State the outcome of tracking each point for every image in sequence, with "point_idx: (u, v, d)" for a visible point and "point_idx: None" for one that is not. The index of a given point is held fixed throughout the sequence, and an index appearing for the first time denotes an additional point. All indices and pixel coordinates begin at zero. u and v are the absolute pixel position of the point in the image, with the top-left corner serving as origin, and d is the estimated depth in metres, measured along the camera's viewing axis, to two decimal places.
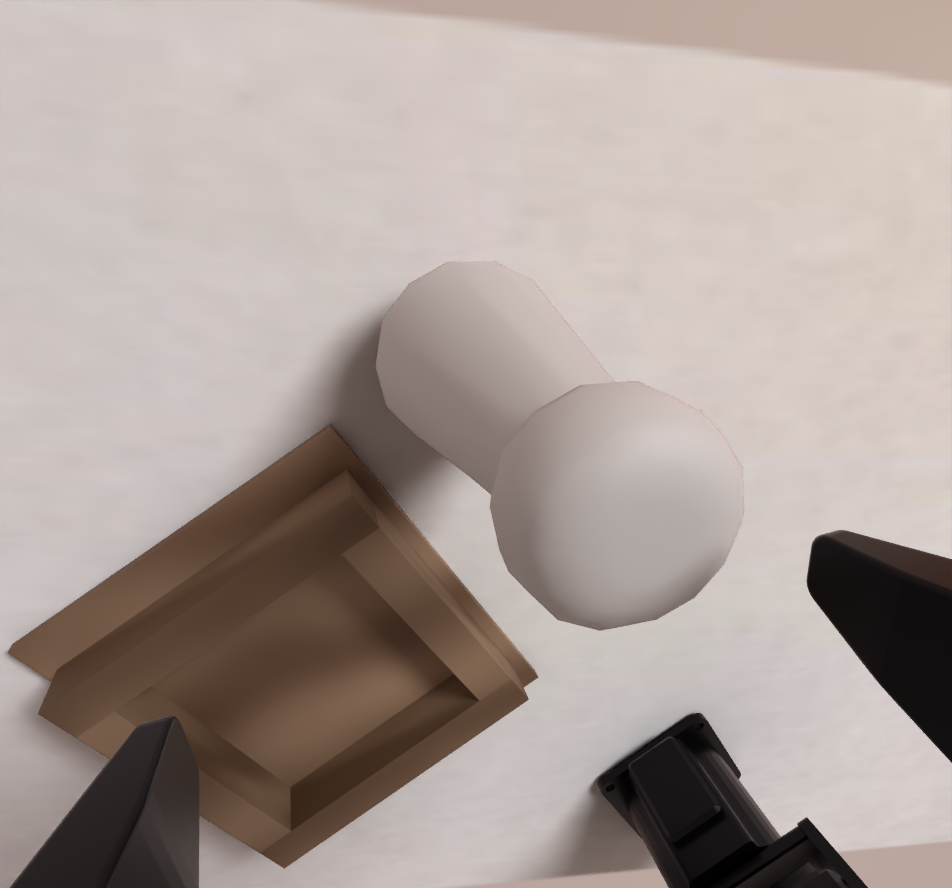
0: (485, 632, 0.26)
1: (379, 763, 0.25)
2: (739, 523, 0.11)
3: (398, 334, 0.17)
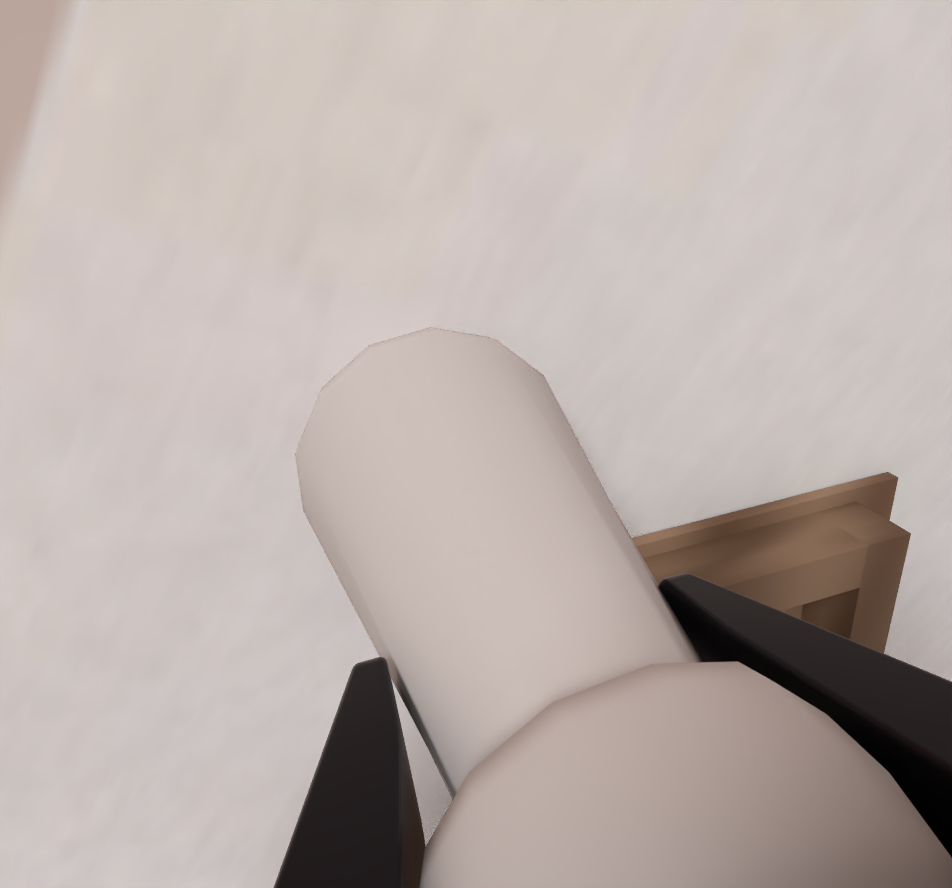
0: (792, 519, 0.20)
1: None
2: None
3: None
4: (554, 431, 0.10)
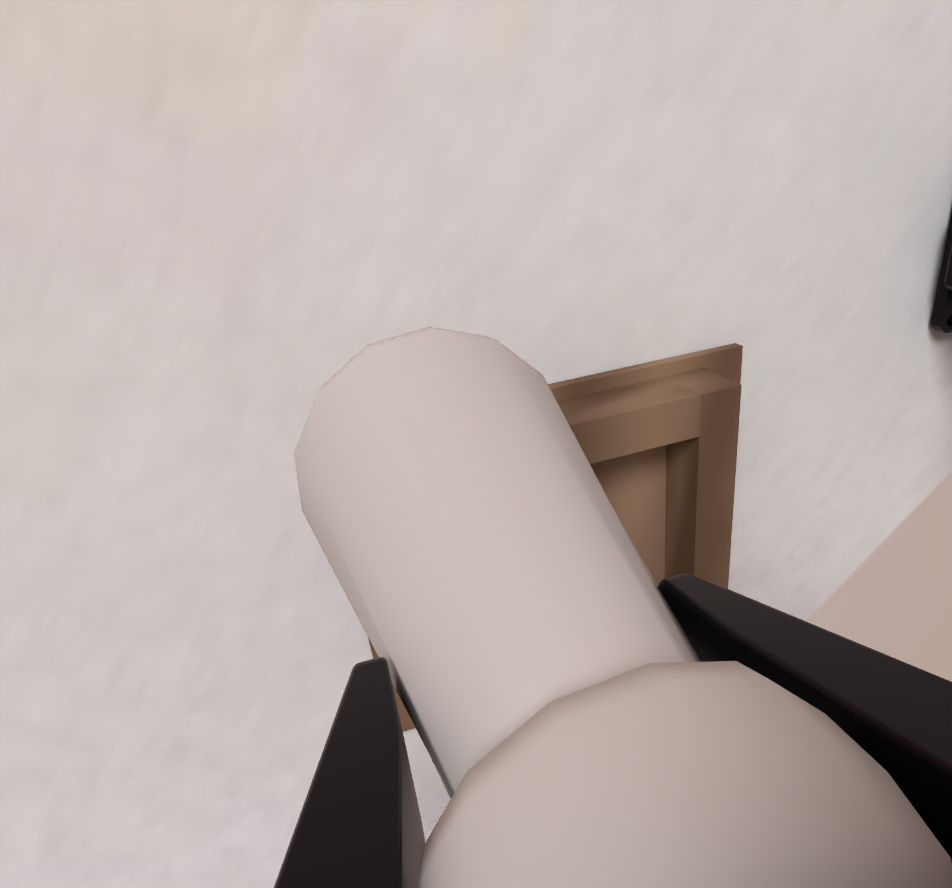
0: (643, 381, 0.22)
1: (690, 549, 0.24)
2: None
3: None
4: (553, 431, 0.10)
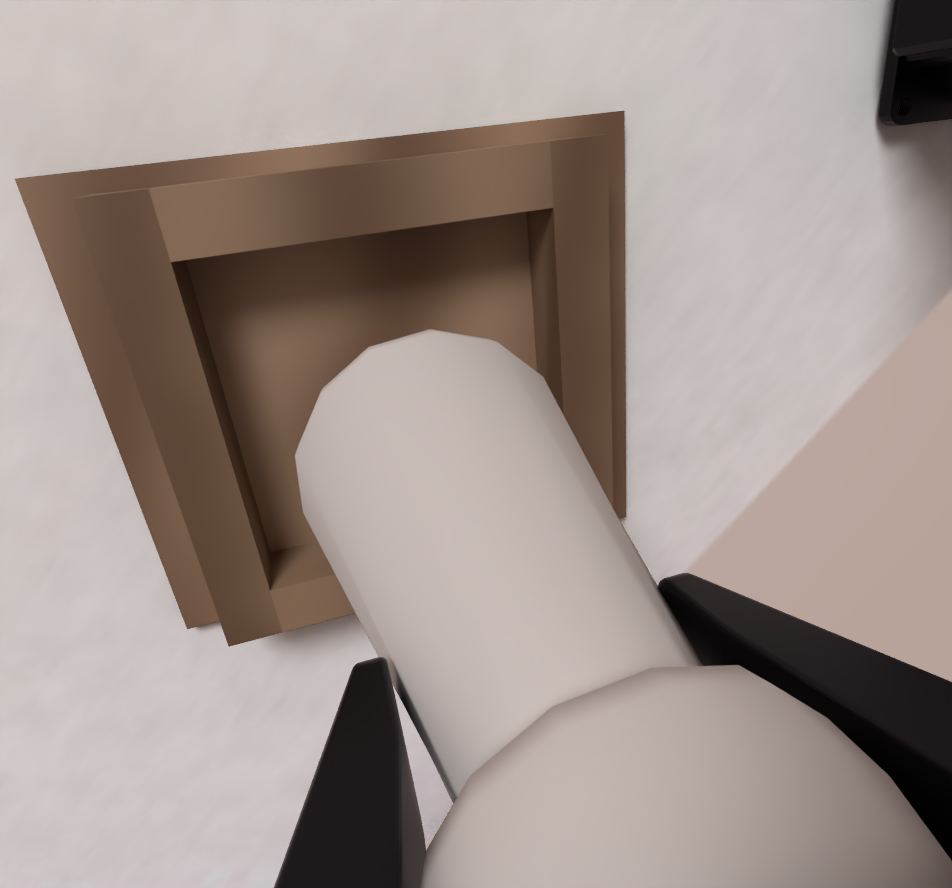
0: (488, 146, 0.17)
1: (558, 383, 0.18)
2: None
3: None
4: (554, 433, 0.10)
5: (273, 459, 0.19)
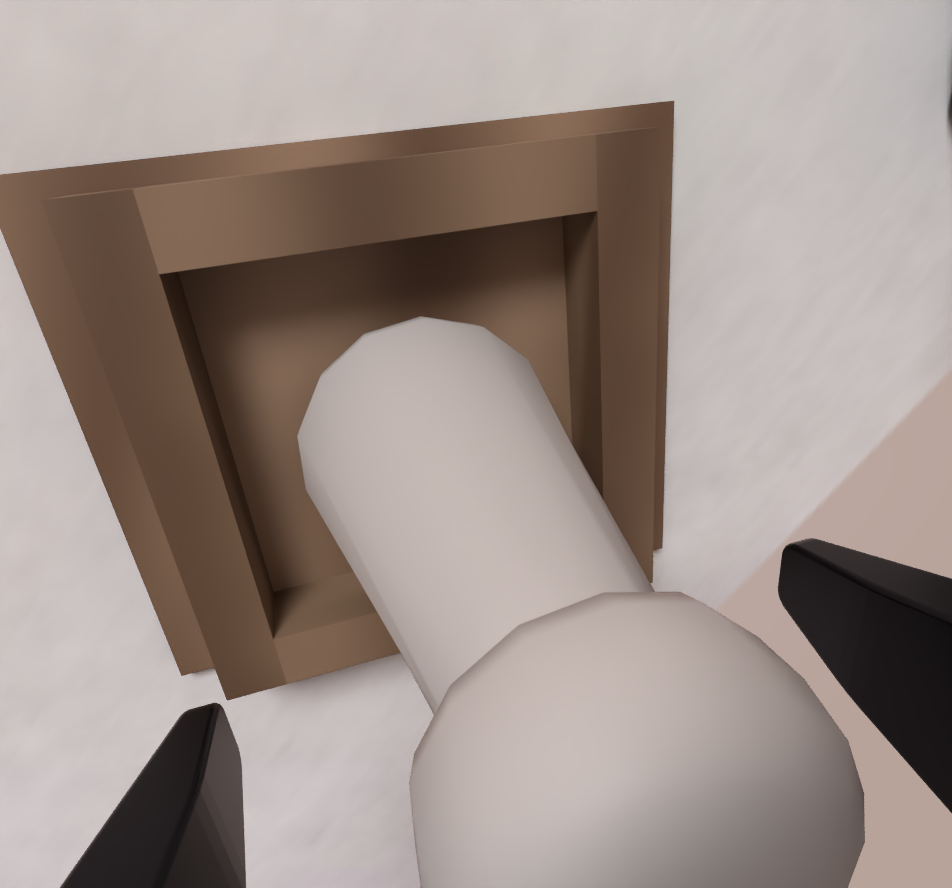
0: (521, 141, 0.15)
1: (596, 408, 0.16)
2: (795, 784, 0.05)
3: None
4: (534, 408, 0.11)
5: (277, 491, 0.17)
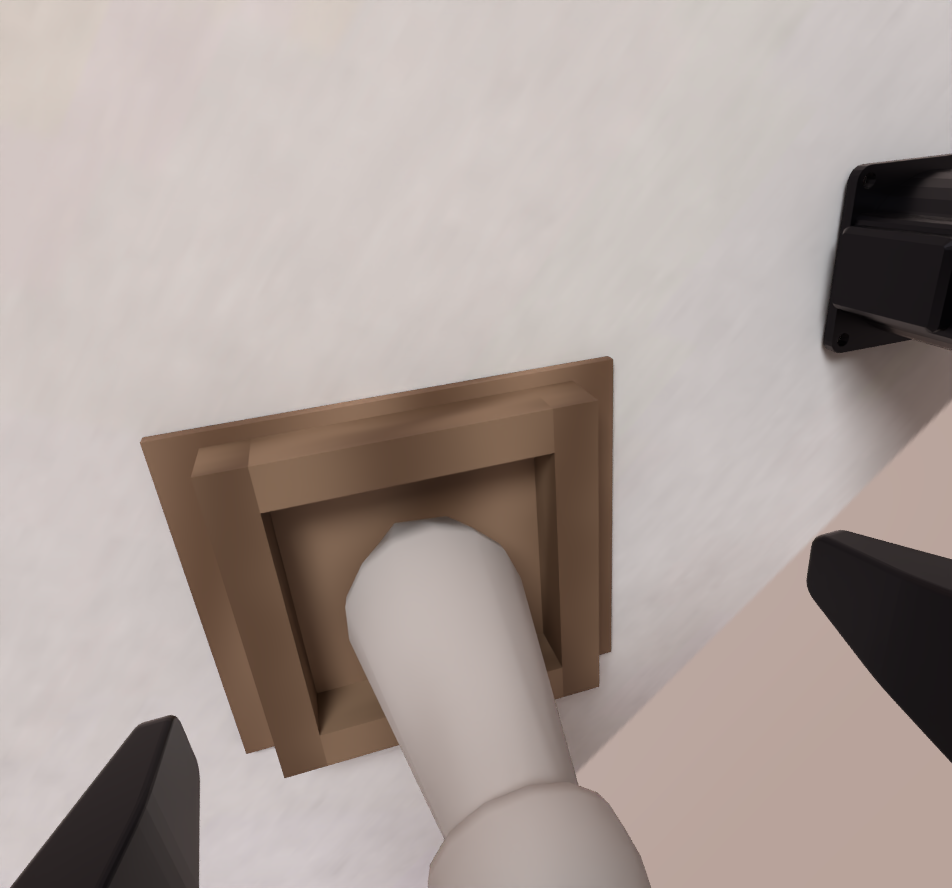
0: (503, 393, 0.21)
1: (555, 570, 0.22)
2: None
3: None
4: (504, 613, 0.18)
5: (323, 625, 0.23)
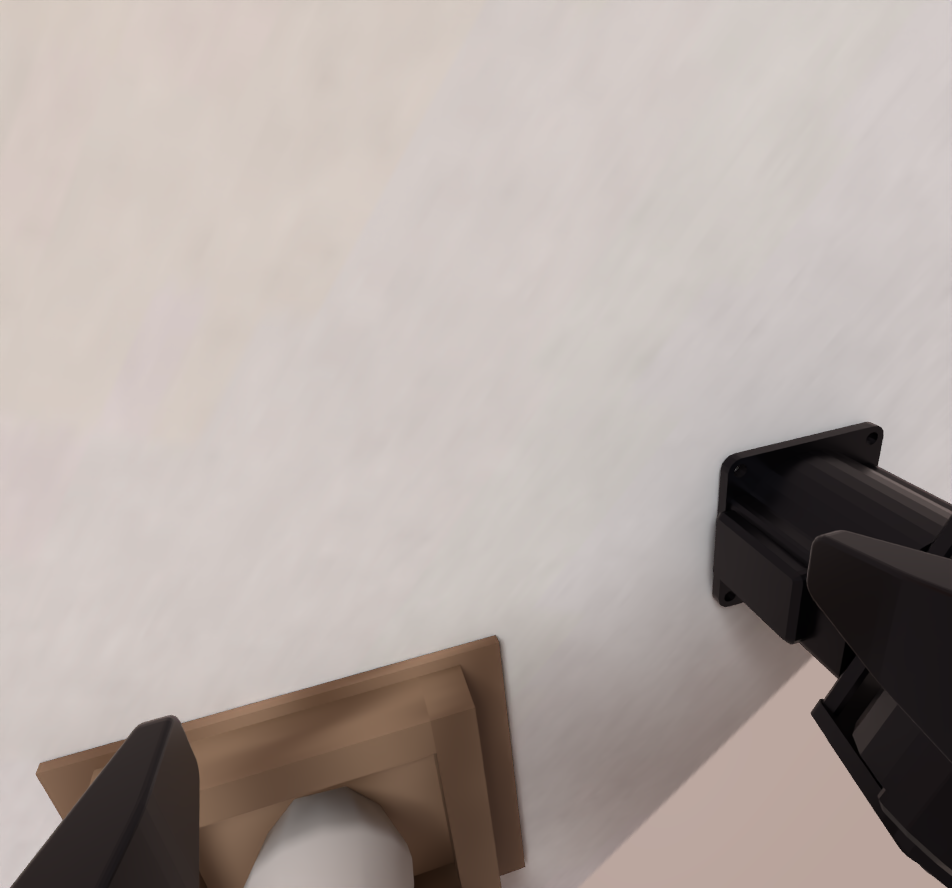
0: (391, 685, 0.22)
1: (451, 835, 0.23)
2: None
3: None
4: None
5: (232, 886, 0.24)
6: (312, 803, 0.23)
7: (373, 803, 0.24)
